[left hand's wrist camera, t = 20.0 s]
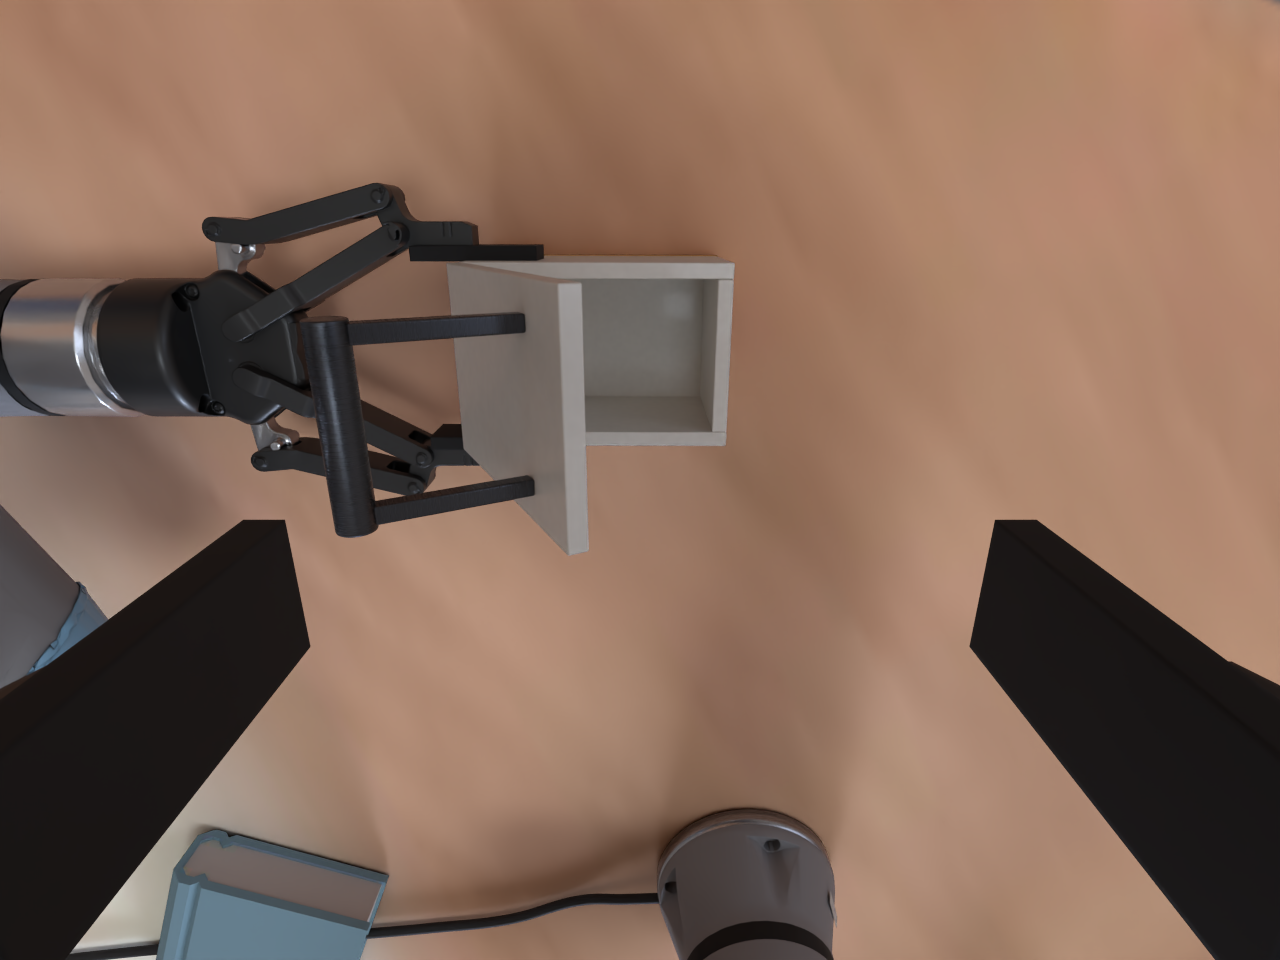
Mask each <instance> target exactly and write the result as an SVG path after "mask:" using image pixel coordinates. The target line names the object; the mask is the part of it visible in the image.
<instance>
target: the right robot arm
mask: <svg viewBox="0 0 1280 960" xmlns="http://www.w3.org/2000/svg"><path fill="white" fill-rule="evenodd" d="M374 216H378V218H379V220H380V222H381V224H382V227H381V228H379V229H377V230H376V231H374V232H373V233H371V234H369V235H368V236H366V237H365V238H363V239H361V240H360V241H358V242H356V243H355V244H353V245H352V246H350V247H348V248H347V249H345V250H343V251H342V252H340V253H339V254H337V255H335V256H334V257H332V258H331V259H329V260H327V261H326V262H324V263H322V264H321V265H319V266H318V267H316V268H314V269H313V270H311V271H309V272H308V273H306V274H305V275H303V276H301V277H300V278H298V279H297V280H295V281H293V282H291V283H289V284H287V285H284V286H282V287H280V288H279V289H277V290H275V289H274V288H272V287H271V286H269V285H268V284H266V283H265V282H263V281H262V280H260V279H259V278H257V277H256V276H254V275H253V274H251V273H250V272H248V271H247V264H248V263H249V262H250V261H251V260H253V259H258V258H260V257H262V255H263V254H264V251H265V248H266V247H265V244H273V243H282V242H287V241H291V240H294V239H298V238H301V237H305V236H308V235H311V234H315V233H318V232H322V231H325V230H329V229H332V228H336V227H339V226H343V225H346V224H350V223H353V222H357V221H360V220H364V219H367V218H371V217H374ZM202 230H203V233H204V235H205V236H206V237H207V238H208V239H209V240H211V241H214V242H215V244H216V252H217V261H218V269H219V270H218V271H216V272H214V273H212V274H211V275H209V276H208V277H206V278H135V279H129V280H123V279H120V278H43V279H28V280H3V279H0V417H3V416H125V417H138V416H142V415H150V416H227V417H232V418H235V419H238V420H240V421H242V422H244V423H246V424H250V425H251V428H252V431H253V435H254V438H255V441H256V444H257V448H258V451H257V452H255V453H254V454H253V455H252V457H251V463H252V465H253V467H254V468H256V469H257V470H259V471H264V472H265V471H276V470H287V469H295V470H299V471H304V472H308V473H312V474H316V475H321V476H325V477H326V474H325V468H324V462H323V456H322V450H321V445H320V439H317V438H309V437H301V438H299V433H298V432H297V431H295V430H291V429H287V428H283V427H281V426H280V425H278V423H277V422H276V420H275V417H277V416H278V415H279V414H280V413H282V412H283V411H284V410H285V409H288V410H290V411H293V412H295V413H297V414H299V415H301V416H304V417H310V418H316V415H315V409H314V404H313V398H312V392H311V386H310V380H309V374H308V369H307V363H306V357H305V351H304V345H303V339H302V334H301V328H300V320H301V319H304V318H308V316H307V315H306V312H307V311H309V310H311V309H312V308H314V307H316V306H317V305H319V304H321V303H322V302H324V301H325V299H327V298H328V297H330V296H331V295H333V294H335V293H336V292H338V291H340V290H341V289H343V288H345V287H346V286H348V285H350V284H351V283H353V282H355V281H356V280H358V279H359V278H361V277H363V276H364V275H366V274H368V273H369V272H371V271H373V270H374V269H376V268H378V267H379V266H381V265H383V264H384V263H386V262H387V261H389V260H391V259H392V258H394V257H396V256H397V255H399V254H401V253H402V252H404V251H406V250H407V249H409V254H410V261H538V260H541V259H544V248H543V245H482V244H479V238H478V226H477V225H474V224H472V223H470V222H422V221H419V220H416V219H415V218H414V217H413V216H412V215H411V214H410V212H409V210H408V208H407V206H406V204H405V195H404V193H403V191H402V190H401V189H400V188H399V187H396V186H393V185H387V184H381V183H372V184H369V185H365V186H362V187H358V188H355V189H351V190H348V191H345V192H341V193H338V194H334V195H331V196H328V197H324V198H321V199H317V200H314V201H310V202H307V203H304V204H300V205H297V206H293V207H290V208H286V209H283V210H280V211H276V212H273V213H269V214H266V215H262V216H259V217H256V218H252V219H249V218H239V217H208V218H206V219H205V220H204V221H203V223H202ZM360 401H361V408H362V415H363V421H364V428H365V435H366V442H367V443H369V444H371V445H373V446H375V447H377V448H379V449H381V450H383V451H385V452H387V453H389V454H392V455H394V456H396V457H394V456H389V455H385V454H381V453H377V452H373V451H368V456H369V462H370V469H371V476H372V483H373V488H376V489H380V490H385V491H389V492H393V493H397V494H402V495H406V496H408V495H414V494H420V493H423V492H424V491H425V490H426V489H427V487H428V486H429V485H430V484H431V483H432V481H433V480H434V479H435V476H436V474H435V471H436V467H437V466H464V465H466V466H471V465H473V466H480V465H479V464H478V463H477V462H476V461H475V460H474V459H473V458H472V457H471V456H470V455H469V454H468V453H467V452H466V451H465V450H464V446H463V435H462V425H461V424H443V425H442V426H441V427H440V428H439V429H438V430H437V431H436V432H435V433H434V434H433V435H432V434H430V433H428V432H426V431H424V430H422V429H420V428H418V427H416V426H414V425H412V424H410V423H407V422H405V421H403V420H401V419H399V418H397V417H395V416H393V415H391V414H389V413H387V412H385V411H383V410H381V409H379V408H377V407H375V406H373V405H371V404H369V403H367V402H365V401H363V400H360ZM107 620H108V619H107V617H106V616H105V615H104V613H103V612H102V611H101V609H100V608H99V607H98V606H97V604H96V603H95V602H94V600H93V599H92V598H91V597H90V595H89V594H88V592H87V590H86V587H85V586H83V585H82V584H81V583H80V582H75V581H74V580H73V579H72V578H71V577H70V576H69V575H68V574H67V573H66V572H65V571H64V570H63V569H62V568H61V567H60V566H59V565H58V564H57V563H56V562H55V561H54V560H53V559H52V558H51V557H50V556H49V555H48V553H47V552H46V551H45V550H44V549H43V548H42V547H41V546H40V545H39V544H38V543H37V542H36V541H35V540H34V539H33V538H32V537H31V536H30V535H29V534H28V533H27V532H26V531H25V530H24V529H23V528H22V527H21V526H20V524H19V523H18V522H17V521H16V520H15V519H14V518H13V517H12V516H11V515H10V514H9V513H8V512H7V511H6V510H5V509H4V508H3V507H2V506H1V505H0V689H1V688H2V687H4V686H6V685H8V684H10V683H12V682H14V681H16V680H18V679H20V678H22V677H24V676H26V675H28V674H30V673H32V672H34V671H36V670H38V669H40V668H42V667H44V666H46V665H48V664H49V663H51V662H52V661H53V660H55V659H56V658H57V657H59V656H60V655H61V654H63V653H64V652H65V651H67V650H68V649H70V648H71V647H72V646H74V645H75V644H76V643H78V642H79V641H80V640H82V639H83V638H84V637H86V636H87V635H88V634H90V633H91V632H93V631H94V630H95V629H97V628H98V627H99V626H101V625H102V624H103V623H105V622H106V621H107Z"/></svg>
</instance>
